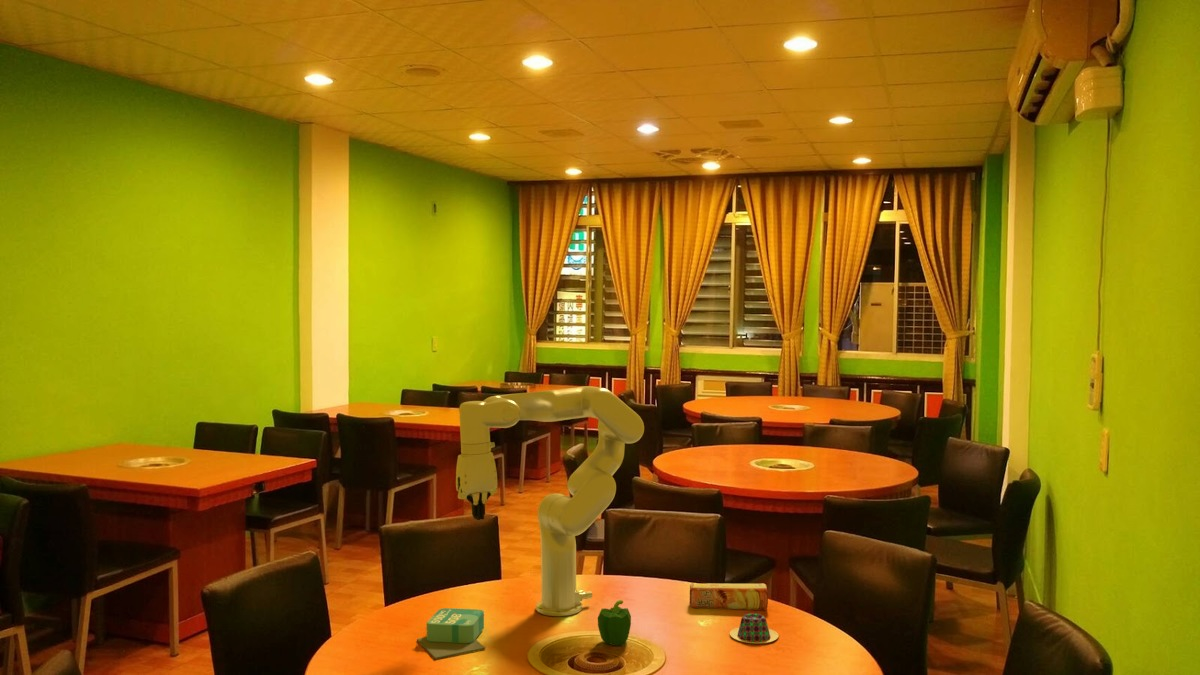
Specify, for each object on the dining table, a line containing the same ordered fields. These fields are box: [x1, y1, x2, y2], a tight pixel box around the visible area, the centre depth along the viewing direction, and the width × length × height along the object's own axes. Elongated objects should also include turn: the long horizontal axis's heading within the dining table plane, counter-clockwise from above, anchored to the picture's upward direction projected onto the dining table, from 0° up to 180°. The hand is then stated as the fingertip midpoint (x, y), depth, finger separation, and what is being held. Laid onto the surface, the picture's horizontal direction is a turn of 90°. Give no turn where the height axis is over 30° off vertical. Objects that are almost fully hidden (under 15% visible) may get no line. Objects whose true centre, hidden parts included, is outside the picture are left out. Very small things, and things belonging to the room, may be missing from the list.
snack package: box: [689, 582, 769, 611], centre depth 245 cm, size 21×7×7 cm, turn 82°
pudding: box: [729, 612, 779, 644], centre depth 223 cm, size 12×12×5 cm
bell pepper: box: [597, 599, 632, 647], centre depth 220 cm, size 8×8×10 cm
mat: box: [416, 636, 486, 661], centre depth 219 cm, size 12×14×1 cm
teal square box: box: [426, 607, 485, 643], centre depth 225 cm, size 12×4×12 cm
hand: (478, 518), depth 233 cm, fingers closed
